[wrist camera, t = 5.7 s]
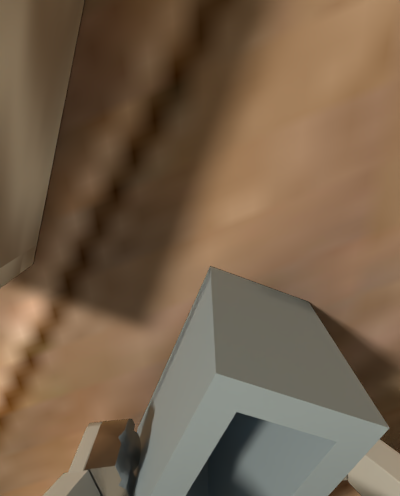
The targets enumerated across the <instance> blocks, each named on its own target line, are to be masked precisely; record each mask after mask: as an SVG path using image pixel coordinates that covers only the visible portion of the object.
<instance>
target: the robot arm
mask: <svg viewBox="0 0 400 496" xmlns="http://www.w3.org/2000/svg"><path fill="white" fill-rule="evenodd" d="M134 426H135V424H134V422H133V420H132V419H122V420H112V421H102V422H94V423H90V424H89V425H88V426H87V428H86V430H85V432H84V435H83V437H82V440H81V442H80V445H79V447H78V449H77V452H76V454H75V457H74V459H73V462H72V464H71V467H70V469H69V471H68V472H67V473H63V475H62V476H61V477H60V478H59V479H58V480H57V481H56V482H55V483H54V484H53V485H52V486H51V487H50V488H49V489H48V491H47V492H46V493H45V494H44V495H43V496H132V495H133V490H134V485H135V480H136V477H135V475H134V471H135V469H136V468H137V467H138V465H139V460H140V455H141V442H140V437H139V435H138V433H136V432H135V431H134ZM343 480H348V482H349V483H350V484H351V485H352V486H353V487H354V488H355V489H356V491H357V492H358V493H359V494H360V495H361V496H400V454H399V453H398V452H397V451H395V450H394V449H393V448H391V447H390V446H388V445H387V444H386V443H384V442H383V441H382V440H380V439H379V440H378V441H377V442H376V444H375V445H374V446H373V447H372V448H371V449H370V450H369V451H368V452H367V453H366V455H365V456H364V457H363V458H362V459H361V460H360V461H359V462H358V463H357V464H356V466H355V467H354V468H353V469H352V470H351V471H350V472H349V473H348V474H347V475H346V477H345V478H344V479H343Z"/></svg>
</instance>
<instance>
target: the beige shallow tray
mask: <svg viewBox="0 0 400 496" xmlns="http://www.w3.org/2000/svg"><path fill="white" fill-rule="evenodd" d="M84 1H85V0H0V288H1V287H2V286H4V285H5V284H7V283H8V282H9V281H11V280H12V279H13V278H15V277H16V276H17V275H19V274H20V273H22V272H23V271H24V270H26V269H27V268H28V267H30V266H31V265H32V264H33V262H34V257H35V252H36V246H37V241H38V236H39V231H40V226H41V221H42V216H43V211H44V206H45V200H46V195H47V190H48V185H49V180H50V175H51V170H52V165H53V159H54V154H55V149H56V144H57V139H58V134H59V129H60V124H61V119H62V113H63V108H64V103H65V98H66V93H67V88H68V83H69V78H70V72H71V67H72V62H73V57H74V52H75V47H76V42H77V37H78V32H79V26H80V21H81V16H82V11H83V6H84Z"/></svg>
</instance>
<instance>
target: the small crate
mask: <svg viewBox="0 0 400 496" xmlns="http://www.w3.org/2000/svg"><path fill="white" fill-rule="evenodd" d="M388 429H389V426H388V425H387V423H386V422H385V420H384V419H383V417H382V415H381V414H380V412H379V411H378V409H377V408H376V406H375V405H374V403H373V401H372V400H371V398H370V397H369V395H368V394H367V392H366V391H365V389H364V387H363V386H362V384H361V383H360V381H359V380H358V378H357V377H356V375H355V373H354V372H353V370H352V369H351V367H350V366H349V364H348V363H347V361H346V359H345V358H344V356H343V355H342V353H341V352H340V350H339V349H338V347H337V345H336V344H335V342H334V341H333V339H332V338H331V336H330V335H329V333H328V331H327V330H326V328H325V327H324V325H323V324H322V322H321V321H320V319H319V317H318V316H317V314H316V313H315V311H314V310H313V308H312V307H311V305H310V303H309V302H307V301H305V300H302V299H299V298H296V297H294V296H291V295H288V294H285V293H283V292H280V291H277V290H274V289H272V288H269V287H266V286H263V285H261V284H258V283H255V282H252V281H250V280H247V279H244V278H242V277H239V276H236V275H233V274H231V273H228V272H225V271H222V270H220V269H217V268H214V267H211V266H210V268H209V270H208V273H207V275H206V277H205V279H204V282H203V284H202V286H201V288H200V291H199V293H198V295H197V297H196V300H195V302H194V304H193V306H192V308H191V311H190V313H189V315H188V317H187V320H186V322H185V324H184V326H183V329H182V331H181V333H180V335H179V338H178V340H177V342H176V344H175V347H174V349H173V351H172V353H171V355H170V358H169V360H168V362H167V364H166V367H165V369H164V371H163V373H162V376H161V378H160V380H159V382H158V385H157V387H156V389H155V391H154V393H153V396H152V398H151V400H150V402H149V405H148V407H147V409H146V411H145V414H144V416H143V418H142V420H141V423H140V425H139V427H138V430H137V433H138V435H139V437H140V442H141V455H140V460H139V465H138V467H137V468H136V469H135V471H134V475H135V477H136V480H135V485H134V490H133V495H132V496H328V495H329V494H330V493H331V492H332V491H333V490H334V489H335V488H336V486H337V485H338V484H339V483H340V482H341V481H342V480H343V479H344V478H345V477H346V475H347V474H348V473H349V472H350V471H351V470H352V469H353V468H354V467H355V466H356V464H357V463H358V462H359V461H360V460H361V459H362V458H363V457H364V456H365V455H366V453H367V452H368V451H369V450H370V449H371V448H372V447H373V446H374V445H375V444H376V442H377V441H378V440H379V439H380V438H381V437H382V436H383V435H384V434H385V433H386V431H387V430H388Z"/></svg>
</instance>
